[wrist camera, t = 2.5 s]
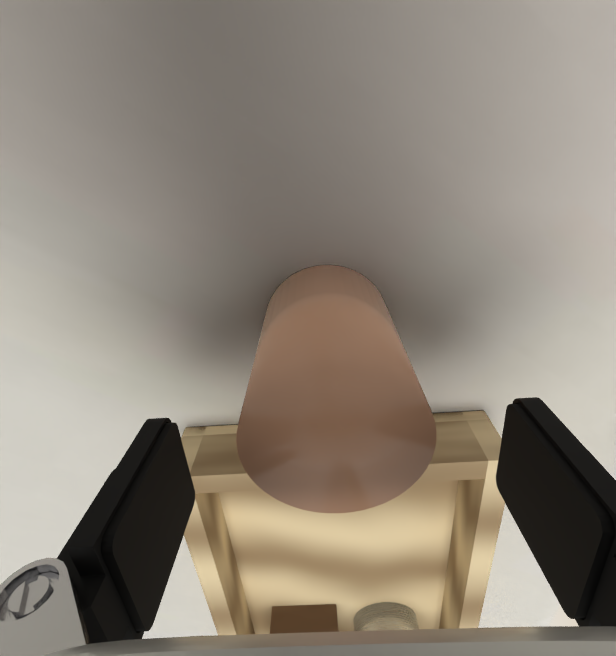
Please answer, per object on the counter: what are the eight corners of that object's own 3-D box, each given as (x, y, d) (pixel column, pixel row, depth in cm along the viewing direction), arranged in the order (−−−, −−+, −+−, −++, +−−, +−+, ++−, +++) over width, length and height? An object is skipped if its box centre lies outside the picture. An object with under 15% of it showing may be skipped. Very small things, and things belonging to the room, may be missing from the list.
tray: (185, 427, 18) (164, 477, 16) (483, 410, 18) (514, 459, 15) (247, 646, 27) (241, 701, 25) (448, 639, 27) (463, 695, 24)
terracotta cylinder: (257, 269, 15) (219, 368, 9) (388, 260, 15) (444, 354, 9) (273, 377, 17) (251, 517, 11) (386, 370, 17) (430, 508, 11)
